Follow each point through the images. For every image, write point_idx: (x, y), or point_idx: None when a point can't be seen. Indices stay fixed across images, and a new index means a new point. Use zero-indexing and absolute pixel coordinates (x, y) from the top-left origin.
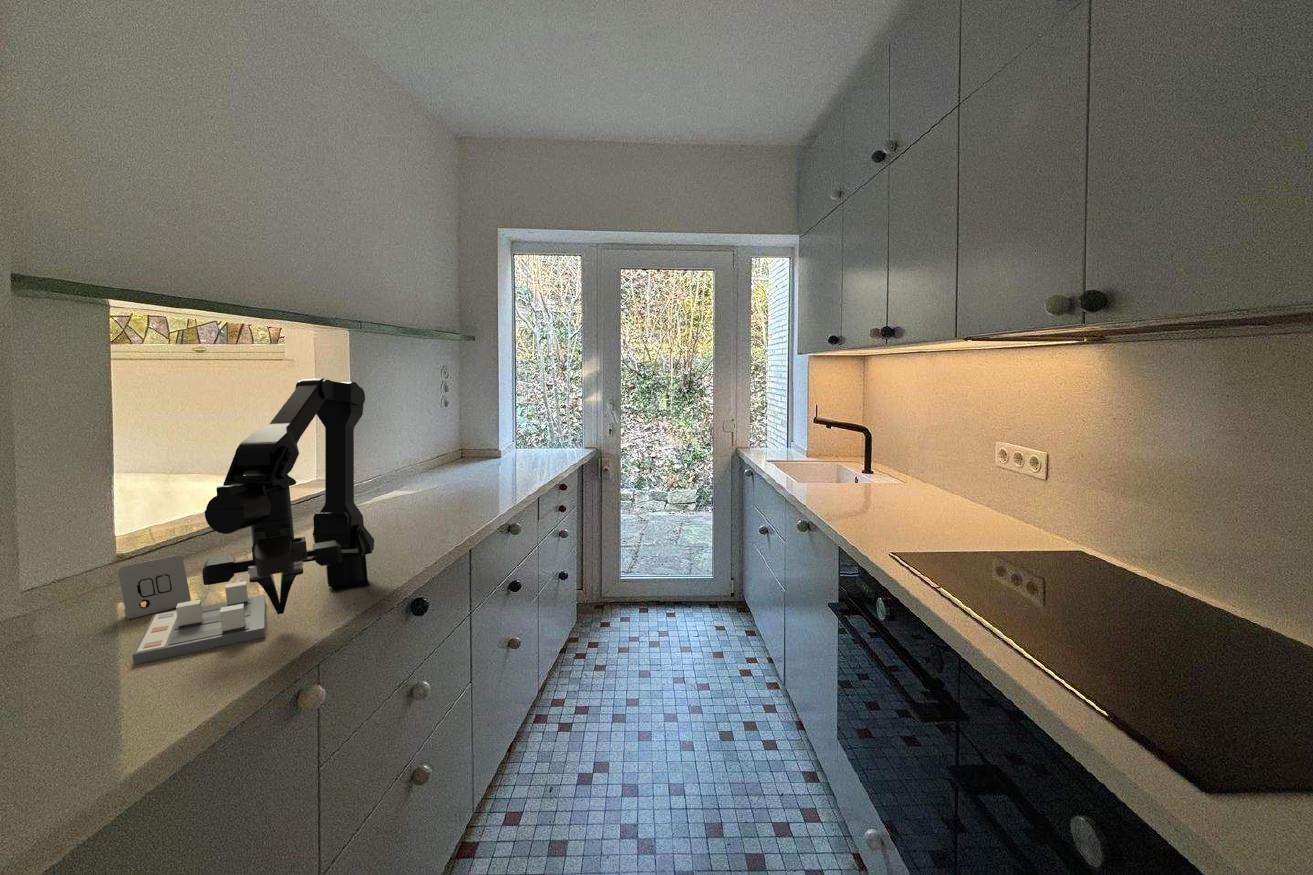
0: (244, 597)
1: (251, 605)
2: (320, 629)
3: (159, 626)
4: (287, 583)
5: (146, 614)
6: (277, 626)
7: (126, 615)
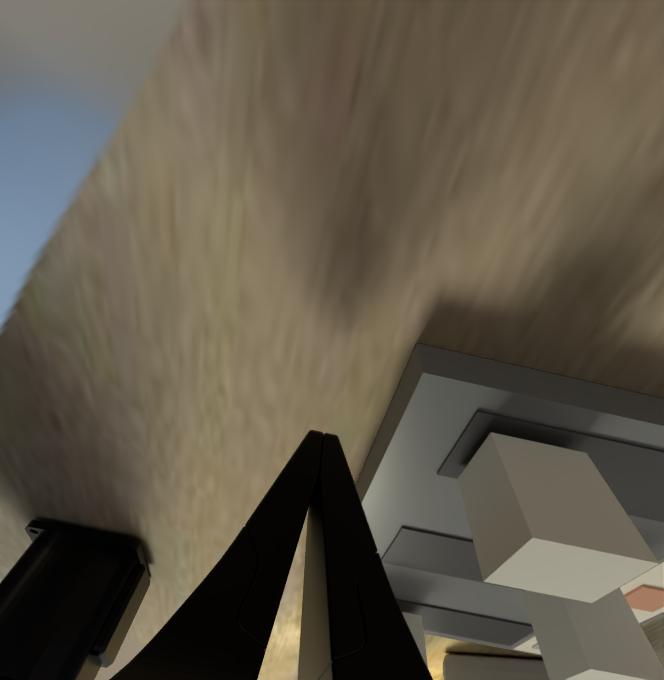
0: None
1: None
2: (178, 232)
3: None
4: (208, 640)
5: (534, 661)
6: (337, 417)
7: None
